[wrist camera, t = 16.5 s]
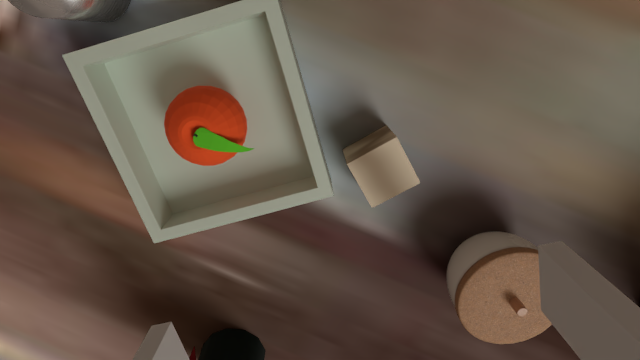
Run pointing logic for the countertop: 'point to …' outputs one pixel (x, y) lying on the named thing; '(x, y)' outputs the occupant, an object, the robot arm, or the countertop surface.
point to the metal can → (74, 9)
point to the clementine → (206, 125)
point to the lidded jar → (497, 287)
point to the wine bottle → (231, 346)
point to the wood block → (380, 166)
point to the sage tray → (218, 71)
